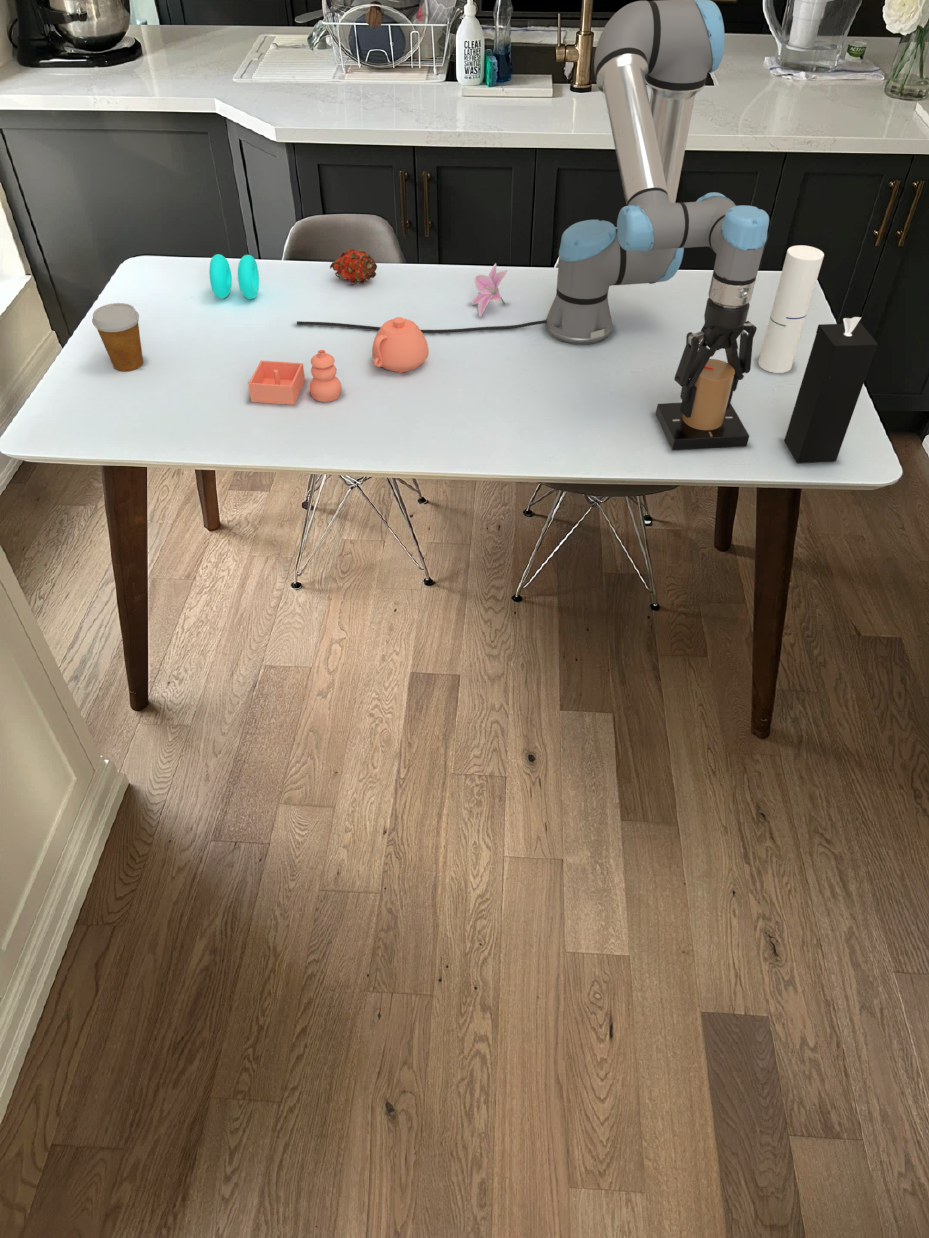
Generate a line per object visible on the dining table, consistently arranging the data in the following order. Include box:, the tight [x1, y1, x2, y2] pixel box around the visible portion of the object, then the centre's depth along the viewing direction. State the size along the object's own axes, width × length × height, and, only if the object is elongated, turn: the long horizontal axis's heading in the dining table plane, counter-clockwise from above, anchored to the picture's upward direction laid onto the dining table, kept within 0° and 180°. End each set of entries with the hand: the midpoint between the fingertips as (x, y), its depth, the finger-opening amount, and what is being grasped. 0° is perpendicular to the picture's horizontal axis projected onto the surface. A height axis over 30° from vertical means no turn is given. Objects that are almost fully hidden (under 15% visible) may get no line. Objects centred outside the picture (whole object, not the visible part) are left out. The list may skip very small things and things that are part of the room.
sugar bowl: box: [371, 316, 430, 374], centre depth 198 cm, size 12×14×10 cm
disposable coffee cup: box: [91, 302, 144, 372], centre depth 196 cm, size 10×10×12 cm
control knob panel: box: [655, 402, 750, 451], centre depth 183 cm, size 15×13×3 cm
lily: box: [471, 262, 508, 318], centre depth 218 cm, size 12×12×10 cm
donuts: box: [209, 253, 260, 300], centre depth 220 cm, size 10×10×10 cm
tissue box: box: [783, 316, 879, 464], centre depth 169 cm, size 8×8×28 cm
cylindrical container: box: [757, 244, 825, 374], centre depth 194 cm, size 7×7×25 cm
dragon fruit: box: [329, 248, 378, 286], centre depth 228 cm, size 8×8×12 cm
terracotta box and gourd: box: [247, 349, 342, 406], centre depth 189 cm, size 18×10×10 cm, turn 83°
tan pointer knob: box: [682, 358, 735, 430], centre depth 178 cm, size 8×8×11 cm
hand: (704, 409), depth 181 cm, fingers closed on tan pointer knob, 8 cm apart
